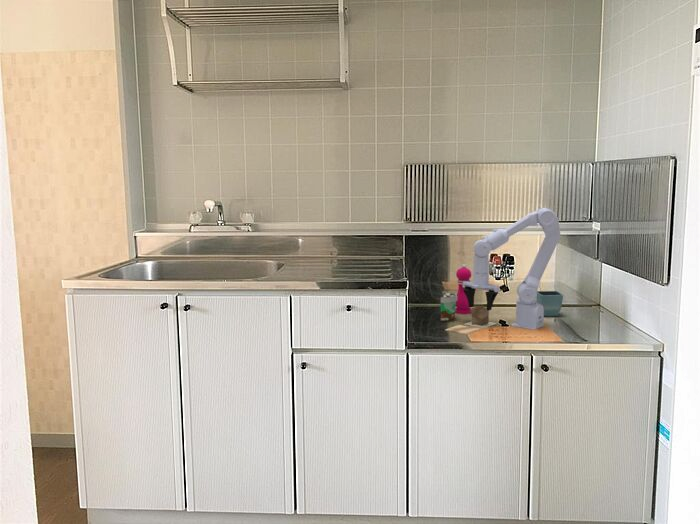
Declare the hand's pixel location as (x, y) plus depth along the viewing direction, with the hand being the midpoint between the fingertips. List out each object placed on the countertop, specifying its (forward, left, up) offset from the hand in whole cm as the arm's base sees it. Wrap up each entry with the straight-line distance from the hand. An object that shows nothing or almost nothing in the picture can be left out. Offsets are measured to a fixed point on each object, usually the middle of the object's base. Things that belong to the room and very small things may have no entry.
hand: (480, 308), depth 238 cm
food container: (+13, +1, -6) cm, 14 cm away
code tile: (0, 0, -6) cm, 6 cm away
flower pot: (-13, -30, -6) cm, 33 cm away
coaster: (0, +12, -6) cm, 13 cm away
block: (0, 0, -6) cm, 6 cm away
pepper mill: (+15, -12, -6) cm, 20 cm away
